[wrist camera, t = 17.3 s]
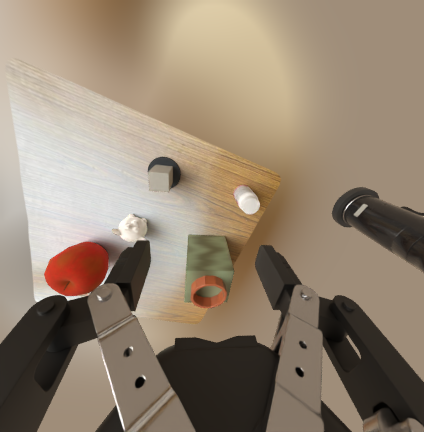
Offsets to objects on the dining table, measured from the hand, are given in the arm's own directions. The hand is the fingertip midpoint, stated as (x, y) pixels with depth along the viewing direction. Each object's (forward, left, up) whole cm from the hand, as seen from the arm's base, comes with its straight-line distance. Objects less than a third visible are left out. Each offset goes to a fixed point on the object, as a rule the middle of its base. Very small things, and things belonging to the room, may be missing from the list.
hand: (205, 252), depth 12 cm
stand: (-4, +26, -32) cm, 42 cm away
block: (+8, +3, -32) cm, 33 cm away
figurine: (+16, +18, -32) cm, 40 cm away
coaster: (+8, +3, -32) cm, 33 cm away
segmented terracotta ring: (-4, +26, -18) cm, 32 cm away
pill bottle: (-12, +6, -32) cm, 35 cm away
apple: (+28, +27, -32) cm, 51 cm away
